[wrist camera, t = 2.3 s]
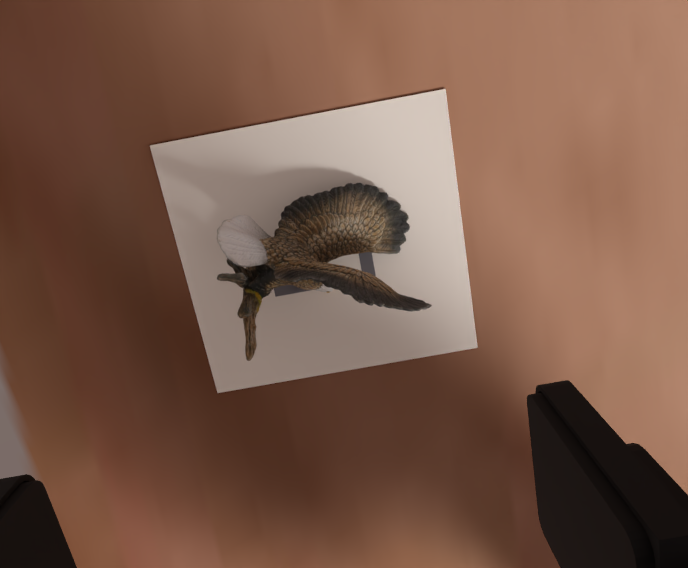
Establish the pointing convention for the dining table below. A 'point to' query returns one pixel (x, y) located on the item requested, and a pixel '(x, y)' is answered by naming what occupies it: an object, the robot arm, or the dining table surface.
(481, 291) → the dining table surface
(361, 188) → the eagle figurine
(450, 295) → the white square panel
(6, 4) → the dining table surface
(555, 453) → the robot arm
